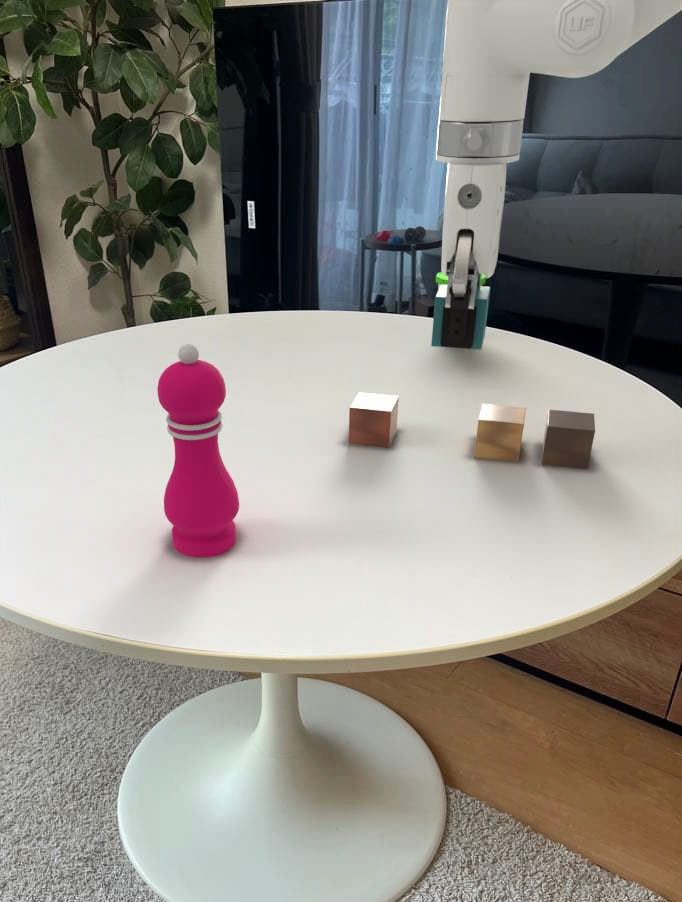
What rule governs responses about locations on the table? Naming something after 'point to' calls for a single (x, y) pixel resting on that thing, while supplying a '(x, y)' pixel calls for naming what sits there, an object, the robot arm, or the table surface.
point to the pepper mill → (197, 458)
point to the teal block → (481, 315)
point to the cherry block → (373, 420)
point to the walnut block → (568, 439)
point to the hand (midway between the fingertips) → (459, 336)
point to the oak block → (500, 432)
